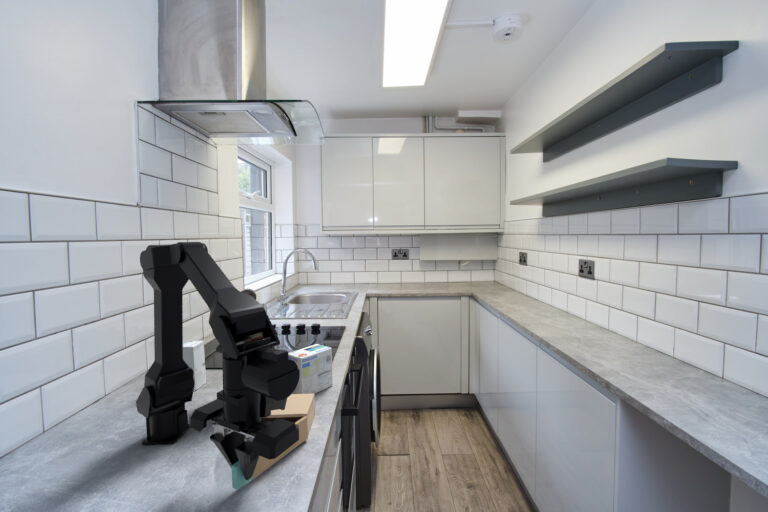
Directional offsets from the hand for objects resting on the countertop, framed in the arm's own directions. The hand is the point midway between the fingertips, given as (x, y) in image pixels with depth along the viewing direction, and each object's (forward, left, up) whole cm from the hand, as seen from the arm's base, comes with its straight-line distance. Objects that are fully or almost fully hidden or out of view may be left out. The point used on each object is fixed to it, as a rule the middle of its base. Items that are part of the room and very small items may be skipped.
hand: (244, 476), depth 55 cm
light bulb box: (+4, +36, -2) cm, 36 cm away
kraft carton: (+1, +18, -2) cm, 18 cm away
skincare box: (-29, +40, -2) cm, 49 cm away
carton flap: (+3, +6, -2) cm, 7 cm away
